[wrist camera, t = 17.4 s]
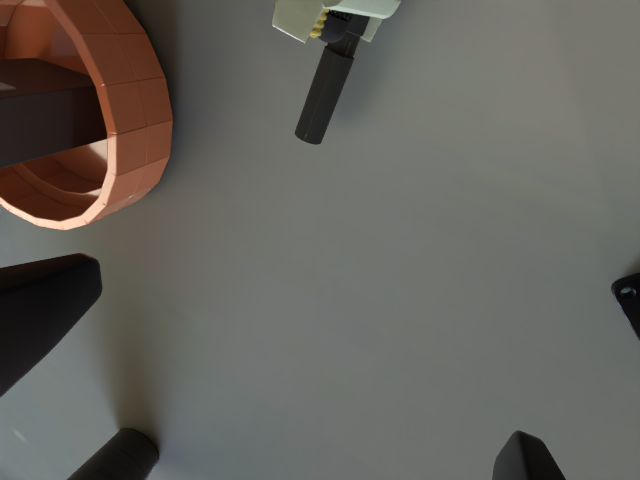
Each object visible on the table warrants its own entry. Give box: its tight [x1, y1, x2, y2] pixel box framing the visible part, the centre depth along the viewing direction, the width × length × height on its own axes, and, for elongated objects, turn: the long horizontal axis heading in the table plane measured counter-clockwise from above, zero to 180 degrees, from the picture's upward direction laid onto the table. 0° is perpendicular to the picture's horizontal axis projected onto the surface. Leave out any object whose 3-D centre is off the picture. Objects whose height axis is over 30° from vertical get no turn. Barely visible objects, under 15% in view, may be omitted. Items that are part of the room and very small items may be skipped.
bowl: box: [0, 0, 173, 230], centre depth 22 cm, size 13×13×4 cm
